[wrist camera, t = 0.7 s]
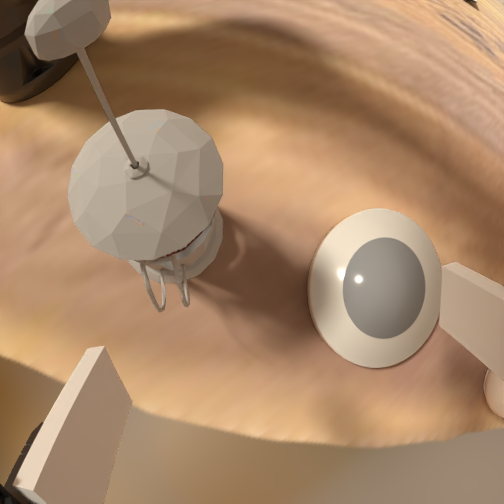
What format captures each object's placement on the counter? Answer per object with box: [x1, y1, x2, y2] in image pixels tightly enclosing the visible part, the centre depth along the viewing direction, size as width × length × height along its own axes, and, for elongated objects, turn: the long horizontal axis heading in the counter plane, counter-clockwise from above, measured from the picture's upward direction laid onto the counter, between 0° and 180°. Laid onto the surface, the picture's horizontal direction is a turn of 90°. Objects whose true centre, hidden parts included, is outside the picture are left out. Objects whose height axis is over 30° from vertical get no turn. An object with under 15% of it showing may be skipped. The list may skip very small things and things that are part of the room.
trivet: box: [307, 208, 442, 368], centre depth 30 cm, size 16×16×2 cm
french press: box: [25, 0, 223, 313], centre depth 16 cm, size 10×12×25 cm
